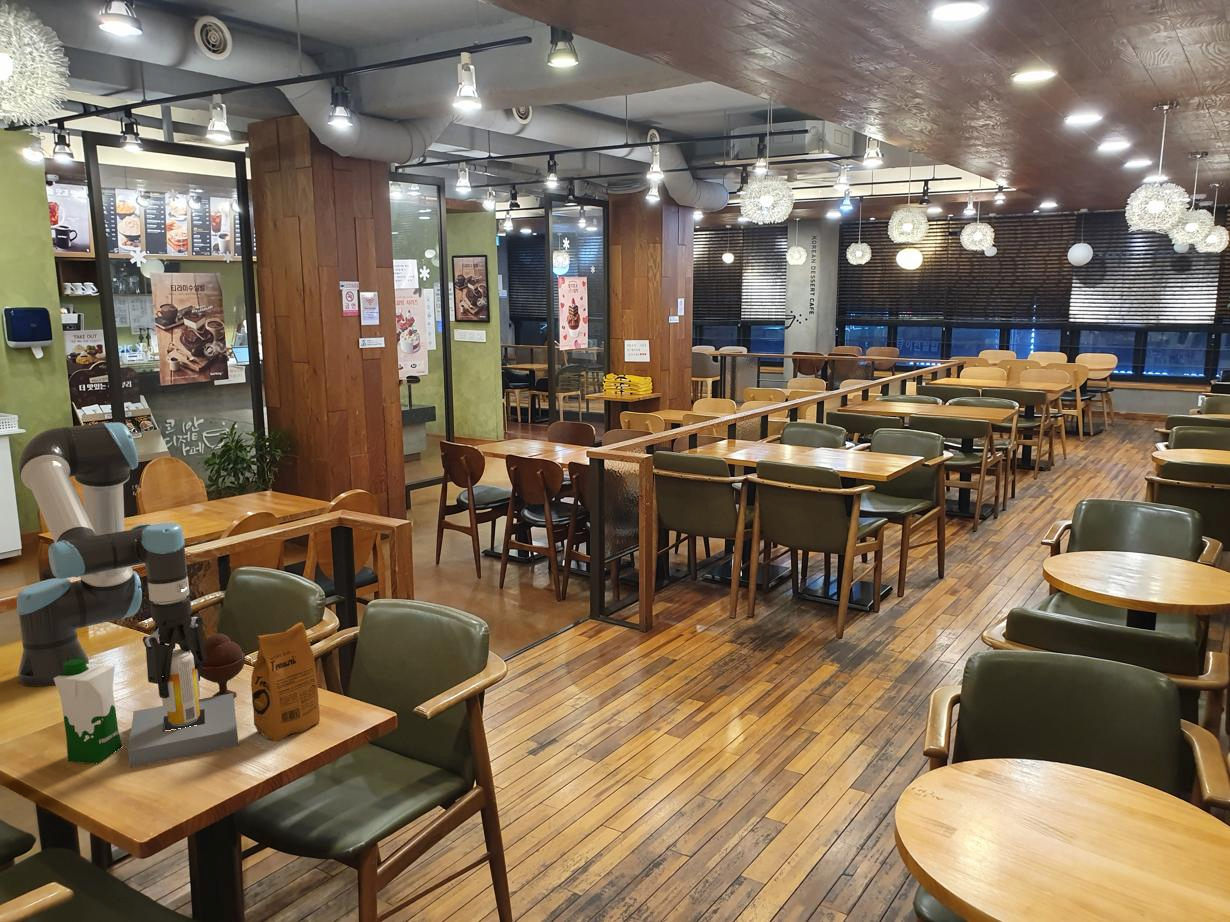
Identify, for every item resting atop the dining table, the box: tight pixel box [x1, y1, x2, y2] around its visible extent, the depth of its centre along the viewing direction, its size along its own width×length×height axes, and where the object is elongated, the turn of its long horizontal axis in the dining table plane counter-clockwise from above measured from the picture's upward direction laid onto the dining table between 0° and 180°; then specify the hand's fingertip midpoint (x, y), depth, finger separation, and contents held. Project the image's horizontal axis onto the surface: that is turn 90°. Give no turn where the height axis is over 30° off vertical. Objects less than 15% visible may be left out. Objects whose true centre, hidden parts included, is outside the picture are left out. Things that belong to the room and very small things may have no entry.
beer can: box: [167, 648, 200, 726], centre depth 194 cm, size 6×6×15 cm
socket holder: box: [127, 693, 240, 768], centre depth 196 cm, size 20×20×4 cm
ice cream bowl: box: [199, 633, 246, 699], centre depth 213 cm, size 11×11×15 cm
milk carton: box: [54, 658, 123, 765], centre depth 187 cm, size 9×9×20 cm
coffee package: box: [250, 622, 321, 742], centre depth 197 cm, size 10×12×22 cm
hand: (182, 703), depth 195 cm, fingers closed on beer can, 6 cm apart
